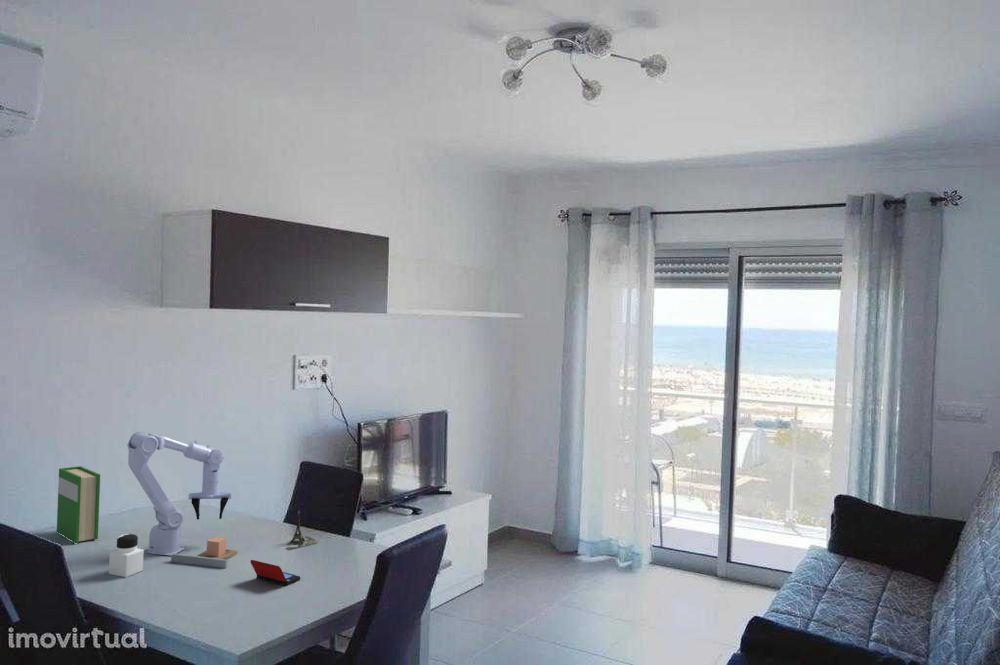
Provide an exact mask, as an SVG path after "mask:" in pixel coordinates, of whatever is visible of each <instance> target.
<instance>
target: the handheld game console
mask: <svg viewBox="0 0 1000 665" xmlns="http://www.w3.org/2000/svg"><path fill="white" fill-rule="evenodd" d="M250 564H251V566H252V568H253V570H254V573H255V575H256V579H257V580H259V581H265V582H268V583H269V582H270V583H273V584H276V585H280V586H283V587H287V586H289V585H291V584H293V583H296V582H298V581H300V580H301V576H299V575H296V574H293V573H292V574H291V573H290V572H289V573H288V572H285V571H283V569H282V567H280V566H279V565H276V564H271V563H266V562H263V561H259V560H254V559H251V560H250Z"/></svg>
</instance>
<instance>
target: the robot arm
mask: <svg viewBox="0 0 1000 665" xmlns="http://www.w3.org/2000/svg"><path fill="white" fill-rule="evenodd" d="M126 445H127V449H128V457H127V458H128V461H127V462H128V464H127V465H128V467H129V469H130V470H131V472H132V473H133V475H134V476H135V478H136V480H137V482H138V483H139V485H140V486H141V487H142V489H143V491H144V493H145V494H146V495H147V498H148V499H149V500H150V503H151V504H152V505H153V510H154V513H155V519H156V521H157V522H158V524H156V525H153V527H152V528H151V529H150V532H149V537H148V539H149V540H148V551H147V554H154V555H162V556H169V557H170V556H171V557H172V554H173V553H174V554H179V553H180V552H182V551H184V550H185V549H186V548H185V547H181V546H180V545H181V544H180V542H181V525H182V524H183V522H184V519H185V516H184V514H183V512H182V511H181V510H179V509H177V508H176V506H175V504H174V503H172V501H171V500H169V498H168V496H167V495H166V492H165V491H164V490H163V488H162V486H161V484H160V483H159V482H158V480H157V478H156V477H155V475H154V473H153V472H152V470H151V469H150V467H149V465H148V462H149V460H150V458H151V457H152V456H153V455H154V453H155V452H156V451H157V450H158V451H160V450H162V449H164V448H166V449H170V450H173V451H177V452H180V453H182V454H183V456H184V457H185V458H187V459H190V460H193V461H197V462H200V463H203V464H202V465H203V466H202V483H201V484H202V488H201V491H199V492H189V493H188V497H187V498H188V500H189V501H191V505H192V507H193V509H194V513H195V516H196V520H200V515H201V514H200V506H201V505H200V503H201V502H200V501H201V500H214V499H215V500H217V499H218V500H220V501H219V516H218V517H219V520H221V519H223V512H224V510H225V507H226V506H227V503H228V502H229V501H228V500H231V499H232V494H233V493H232V492H229V491H227V492H226V491H220V473H221V464H222V462H223V460H224V457H225V456H223V453H222V452H221V451H220V450H219V449H215V448H214V447H211V446H210V445H203V444H200V442H199V441H196V440H194V441H189V442H188V443H184V442H183V441H178V440H175V439H172V438H169V437H166V436H163V435H160V434H156V433H149V432H147V433H146V432H145V431H136V432H134V433H133V434H132V435H131V436H130V438H129V440H128V442H127V444H126Z"/></svg>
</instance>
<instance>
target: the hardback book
mask: <svg viewBox="0 0 1000 665" xmlns="http://www.w3.org/2000/svg"><path fill="white" fill-rule="evenodd" d="M57 487H58V489H57V514H56V517H57V518H56V533H57V532H58V533H60V534H62V535H64V536H65V537H67V538H68V539H70V540H72V541H73V542H75V543H78V542H83V541H84V542H85V541H90V540H93V539H98V540H99V523H100V522H99V521H100V520H99V518H100V515H99V514H100V493H101V492H100V491H101V474H100V473H98V472H95V471H93V470H91V469H88V468H86V467H83V466H82V465H79V466H78V465H77V466H71V467H62V468H61V467H60V468H58V486H57Z"/></svg>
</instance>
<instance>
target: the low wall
mask: <svg viewBox="0 0 1000 665" xmlns="http://www.w3.org/2000/svg"><path fill="white" fill-rule="evenodd" d="M228 560H229V559H227V560H225V559H217V558H208V557H200V556H197V555H191V554H181V553H176V554H174V553H173V554H172V556H171V560H170V561H171V563H173V562H174V563H178V564H179V563H180V564H190V565H196V566H202V567H203V566H207V567H212V568H213V567H214V568H222V569H227V568H228Z"/></svg>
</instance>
